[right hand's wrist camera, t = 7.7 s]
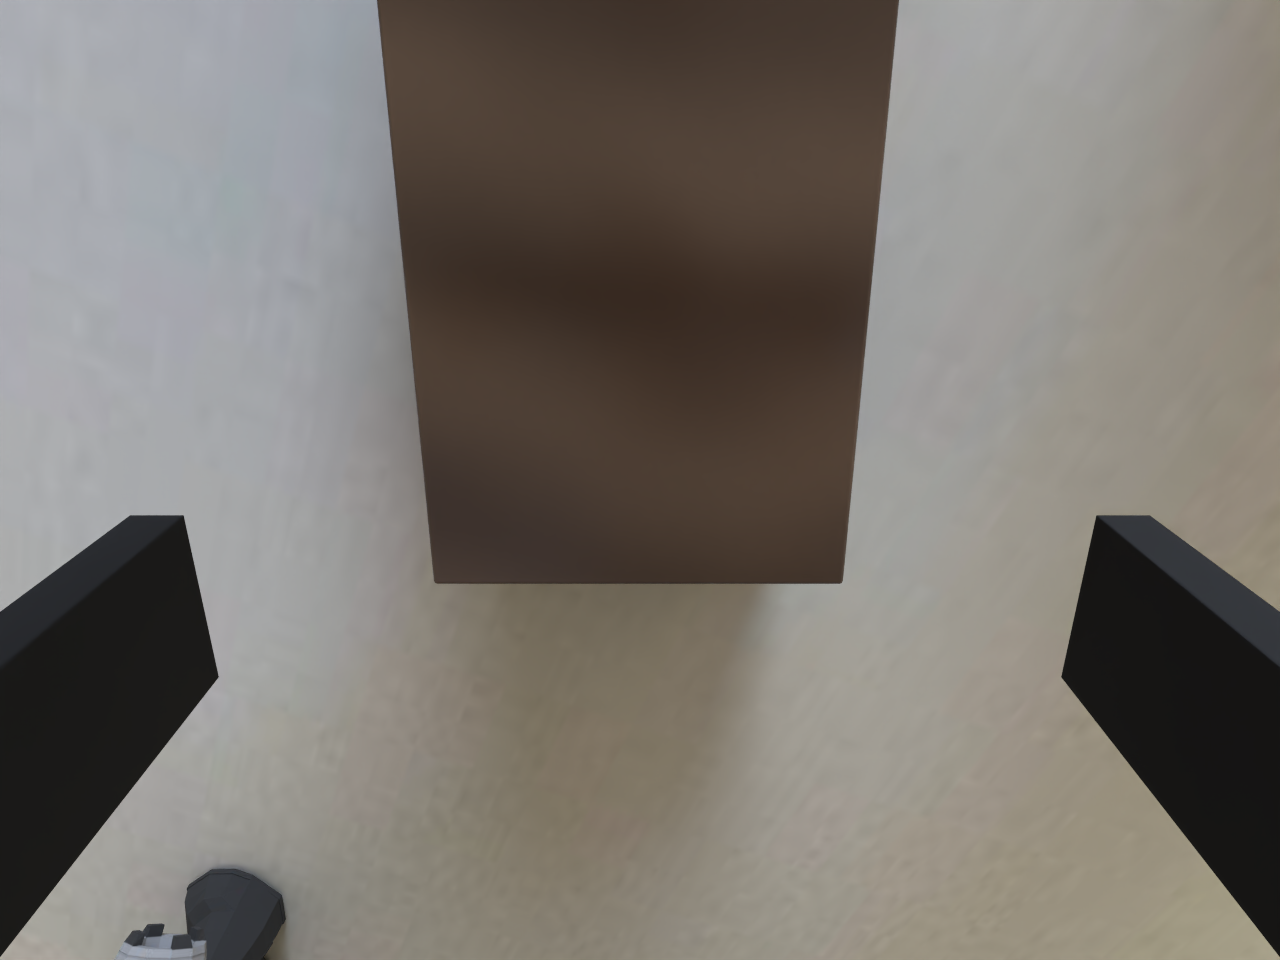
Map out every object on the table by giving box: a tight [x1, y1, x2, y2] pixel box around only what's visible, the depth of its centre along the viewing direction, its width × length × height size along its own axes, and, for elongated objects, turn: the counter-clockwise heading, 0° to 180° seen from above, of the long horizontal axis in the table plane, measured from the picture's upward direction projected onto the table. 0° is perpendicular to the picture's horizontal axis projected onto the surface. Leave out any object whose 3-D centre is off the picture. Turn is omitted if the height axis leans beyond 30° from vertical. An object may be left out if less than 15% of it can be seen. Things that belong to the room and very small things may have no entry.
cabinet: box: [377, 0, 899, 584], centre depth 25 cm, size 17×11×8 cm
